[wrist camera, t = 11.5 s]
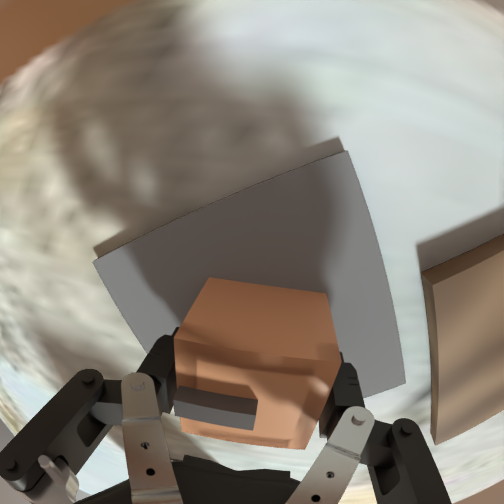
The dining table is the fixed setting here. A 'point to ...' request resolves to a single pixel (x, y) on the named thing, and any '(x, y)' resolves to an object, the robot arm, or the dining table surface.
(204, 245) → the mat
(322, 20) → the dining table surface
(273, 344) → the tan cube with tab
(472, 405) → the brown board
